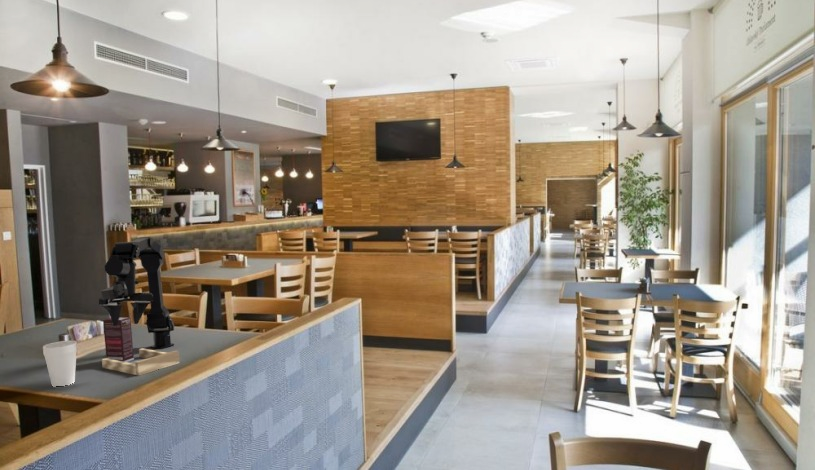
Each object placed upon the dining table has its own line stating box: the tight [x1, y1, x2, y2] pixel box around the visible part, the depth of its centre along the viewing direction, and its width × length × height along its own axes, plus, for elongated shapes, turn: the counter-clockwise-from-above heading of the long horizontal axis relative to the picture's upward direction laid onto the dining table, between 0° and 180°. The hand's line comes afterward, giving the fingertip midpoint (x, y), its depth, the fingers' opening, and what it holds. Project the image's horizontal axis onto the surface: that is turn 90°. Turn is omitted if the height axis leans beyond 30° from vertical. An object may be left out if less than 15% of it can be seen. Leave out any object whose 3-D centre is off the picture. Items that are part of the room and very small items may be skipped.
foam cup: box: [42, 340, 78, 388], centre depth 184 cm, size 10×9×13 cm
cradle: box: [101, 347, 180, 376], centre depth 202 cm, size 22×16×4 cm
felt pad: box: [128, 358, 145, 364], centre depth 202 cm, size 14×10×1 cm
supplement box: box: [102, 316, 135, 363], centre depth 209 cm, size 9×5×16 cm, turn 71°
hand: (125, 324), depth 193 cm, fingers open, 9 cm apart
